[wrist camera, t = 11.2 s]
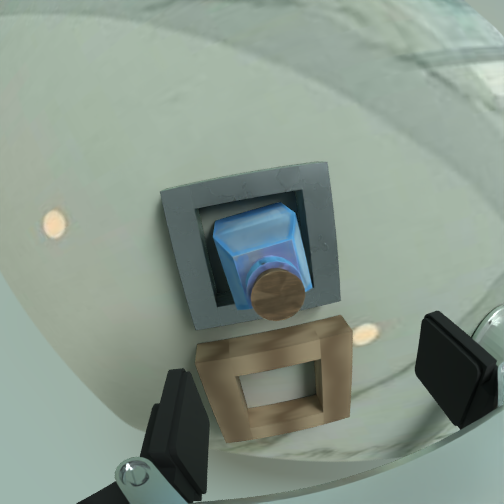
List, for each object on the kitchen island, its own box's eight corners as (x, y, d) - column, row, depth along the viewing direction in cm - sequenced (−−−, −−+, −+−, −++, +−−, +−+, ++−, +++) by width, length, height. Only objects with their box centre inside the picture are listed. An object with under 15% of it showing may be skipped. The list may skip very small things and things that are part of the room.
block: (316, 161, 26) (327, 161, 24) (330, 288, 30) (340, 300, 27) (166, 188, 26) (159, 191, 23) (197, 315, 30) (195, 330, 27)
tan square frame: (340, 314, 31) (352, 330, 28) (341, 399, 36) (349, 416, 32) (197, 343, 31) (194, 363, 28) (225, 423, 35) (226, 443, 32)
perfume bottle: (234, 280, 29) (241, 353, 18) (215, 220, 27) (208, 262, 16) (295, 262, 29) (337, 324, 18) (279, 201, 27) (319, 230, 16)
